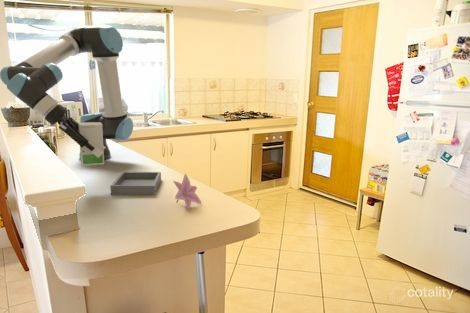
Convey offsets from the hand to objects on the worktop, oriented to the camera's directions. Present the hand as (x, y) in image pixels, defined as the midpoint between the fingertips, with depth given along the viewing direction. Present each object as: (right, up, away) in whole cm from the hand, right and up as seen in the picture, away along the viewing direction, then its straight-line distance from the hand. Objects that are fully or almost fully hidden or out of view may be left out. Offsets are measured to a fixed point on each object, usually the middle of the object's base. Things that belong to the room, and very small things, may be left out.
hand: (102, 152), depth 131 cm
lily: (+34, -19, -11) cm, 40 cm away
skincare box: (-3, -4, 0) cm, 6 cm away
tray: (+12, -14, +5) cm, 19 cm away
